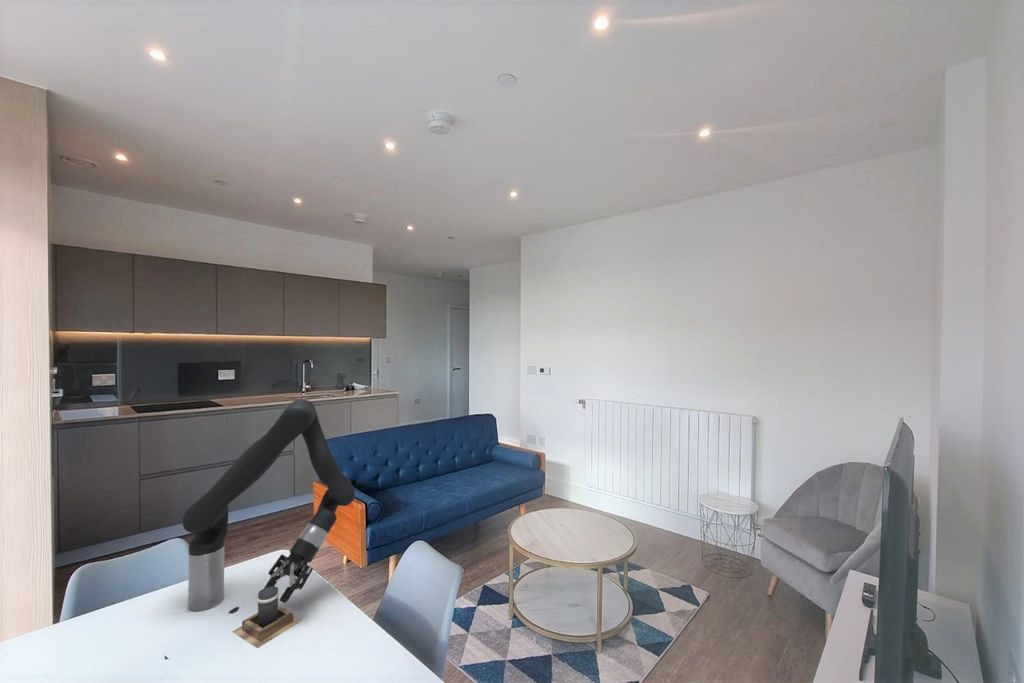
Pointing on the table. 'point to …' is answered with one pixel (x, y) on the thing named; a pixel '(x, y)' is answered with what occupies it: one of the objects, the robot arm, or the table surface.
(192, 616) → the table surface
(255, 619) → the tiered wooden square base
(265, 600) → the dark grey banded cylinder
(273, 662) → the table surface
